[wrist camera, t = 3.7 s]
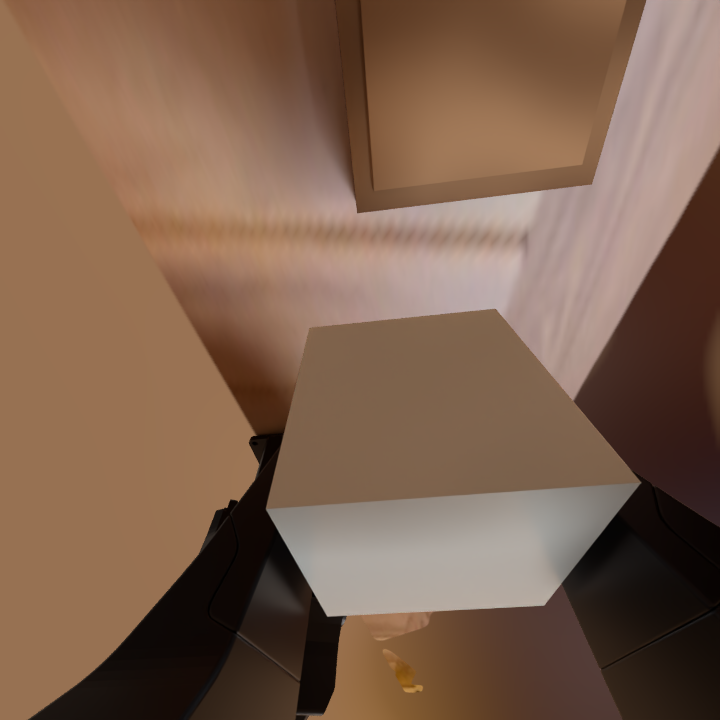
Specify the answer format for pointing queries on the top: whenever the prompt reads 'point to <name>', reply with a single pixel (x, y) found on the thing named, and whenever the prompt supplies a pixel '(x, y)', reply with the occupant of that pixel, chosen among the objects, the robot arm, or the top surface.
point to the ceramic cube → (437, 469)
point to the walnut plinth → (479, 94)
